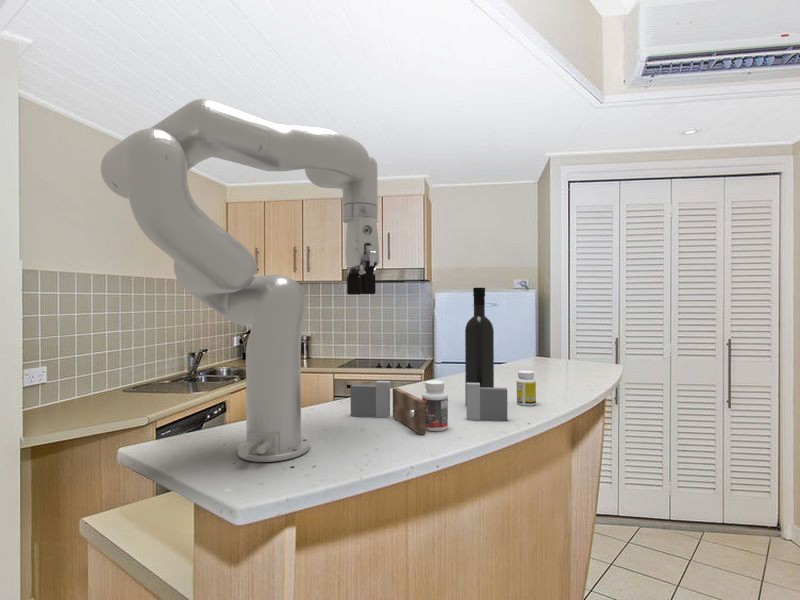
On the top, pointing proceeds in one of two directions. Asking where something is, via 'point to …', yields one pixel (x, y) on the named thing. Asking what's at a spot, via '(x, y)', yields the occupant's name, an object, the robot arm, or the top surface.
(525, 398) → the supplement bottle
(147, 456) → the top surface
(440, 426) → the pill bottle
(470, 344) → the wine bottle
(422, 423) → the door
